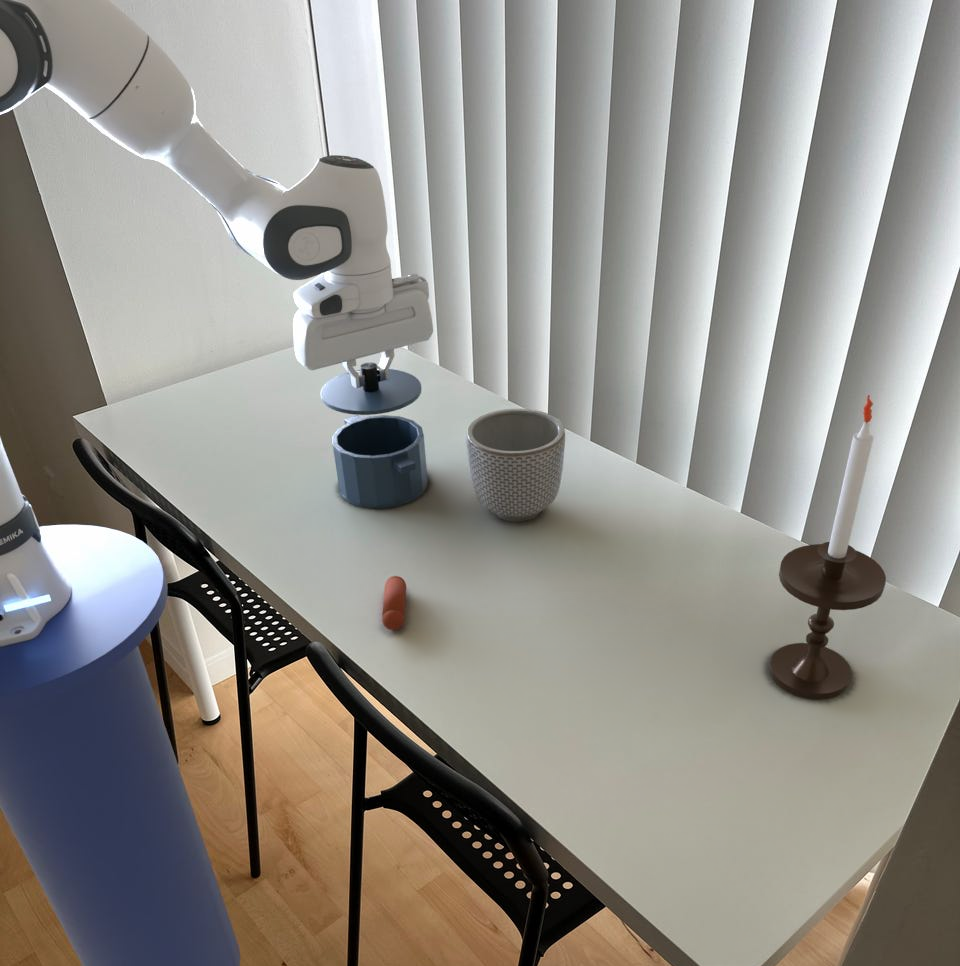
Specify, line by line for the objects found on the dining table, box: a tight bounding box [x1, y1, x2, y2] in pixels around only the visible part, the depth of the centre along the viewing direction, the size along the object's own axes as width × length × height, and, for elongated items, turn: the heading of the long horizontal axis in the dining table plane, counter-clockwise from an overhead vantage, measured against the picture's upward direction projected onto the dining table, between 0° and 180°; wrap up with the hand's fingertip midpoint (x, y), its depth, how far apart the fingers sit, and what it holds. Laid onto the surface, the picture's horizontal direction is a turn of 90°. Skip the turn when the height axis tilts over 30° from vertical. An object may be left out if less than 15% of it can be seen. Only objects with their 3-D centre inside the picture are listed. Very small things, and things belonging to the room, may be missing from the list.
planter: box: [465, 408, 566, 523], centre depth 141 cm, size 14×14×13 cm
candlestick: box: [768, 394, 887, 701], centre depth 103 cm, size 11×11×35 cm
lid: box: [320, 362, 423, 416], centre depth 141 cm, size 15×15×5 cm
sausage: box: [381, 575, 407, 631], centre depth 126 cm, size 10×3×3 cm, turn 2°
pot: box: [331, 414, 429, 509], centre depth 149 cm, size 14×19×8 cm
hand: (370, 382), depth 141 cm, fingers closed on lid, 2 cm apart
